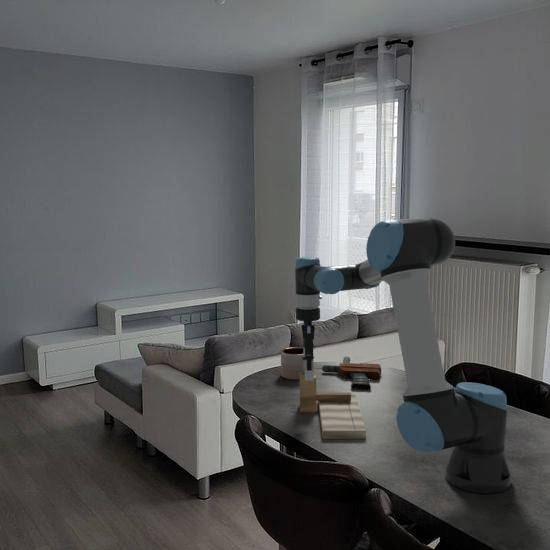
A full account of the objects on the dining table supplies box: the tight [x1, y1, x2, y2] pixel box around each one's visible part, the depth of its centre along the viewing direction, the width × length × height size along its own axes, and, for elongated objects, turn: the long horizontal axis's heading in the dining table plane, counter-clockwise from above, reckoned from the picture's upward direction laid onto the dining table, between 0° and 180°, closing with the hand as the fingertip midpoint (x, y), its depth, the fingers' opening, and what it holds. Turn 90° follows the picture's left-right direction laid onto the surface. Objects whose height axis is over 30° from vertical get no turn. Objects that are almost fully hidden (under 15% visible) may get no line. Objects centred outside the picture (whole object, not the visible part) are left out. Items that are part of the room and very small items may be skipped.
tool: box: [316, 356, 382, 391], centre depth 237 cm, size 4×27×30 cm
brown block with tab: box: [299, 371, 352, 413], centre depth 203 cm, size 6×16×11 cm, turn 89°
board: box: [317, 394, 367, 440], centre depth 195 cm, size 30×12×2 cm, turn 179°
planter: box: [280, 346, 305, 381], centre depth 237 cm, size 11×11×10 cm
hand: (308, 373), depth 202 cm, fingers open, 13 cm apart
